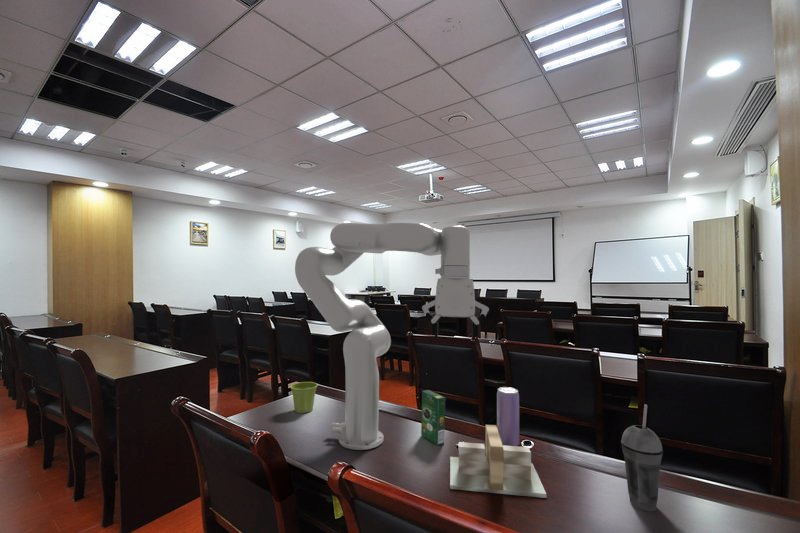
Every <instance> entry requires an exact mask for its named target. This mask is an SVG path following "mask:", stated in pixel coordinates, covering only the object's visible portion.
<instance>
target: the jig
mask: <svg viewBox="0 0 800 533" xmlns="http://www.w3.org/2000/svg"><path fill="white" fill-rule="evenodd" d="M449 460H450V462H449V464H450V465H449V469H450V470H449V489H450V490H459V491H460V490H461V491H471V492H477V493H478V492H481V493H490V494H502V495H511V496H512V495H513V496H521V497H533V498H543V499H544V498H545V499H547V497H548V496H547V492H546V490H545V488H544V485H543V484H542V482H541V479H540V476H539V474H538V472H537V470H536V469H535V466H534V464H533V463H532V452H531V450H530V447H529V446H519V445H518V446H506V445H503V491H502V490H491V488H490V483H489V464H488V459H487V457H485V443H478V442H476V443H475V442H466V441H458V456H450V457H449Z"/></svg>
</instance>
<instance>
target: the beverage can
mask: <svg viewBox="0 0 800 533" xmlns="http://www.w3.org/2000/svg"><path fill="white" fill-rule="evenodd" d="M496 426H497V429H498V432H499V436H500V439H501V442H502V445H506V446H519V445H520V394H519V390H518V389H516V388H514V387H509V386H508V387H507V386H502V387H499V388H497V392H496Z"/></svg>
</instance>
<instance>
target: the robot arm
mask: <svg viewBox="0 0 800 533" xmlns="http://www.w3.org/2000/svg"><path fill="white" fill-rule="evenodd" d="M329 236H330V237H329V238H330V241H331V244H332V245H333V246H334V247H333V248H325V247H321V246H320V247H319V246H310V247H305V248H303V249H302V250H301V251H299V253H298V255H297V257H296V259H295V265H294V273H295V278H296V280H297V283H298V285H299V287H300V288H301V289H302V291H303V292H304V293H305V294H306V295H307V297H308V298H309V299H310V300H311V302H312V303H313V304H314V306H315V307H316V309H317V310H318V312H319V313H320V314H321V316H322V317H323V318H324V320H325V322H326V323H327V324H328V325H329V327H330V328H331V329H332V330H334V331H336V332H338V333H344V332H348V331H350V332H349V334H347V335H346V337H345V339H344V341H343V344H342V345H343V347H342V351H343V359H344V366H345V395H344V396H345V397H344V399H345V401H344V422H343V421H342V422H341V423H338V422H330V423H331V424H330V430H331V432H332V433H334V434H336V433H339V434H340V435H339V437H338V443H339V444H340V445H341V446H342V447H343V448H345V449H348V450H353V451H354V450H355V451H363V450H364V451H365V450H371V449H374V448H377V447H379V446H380V445H382V444H383V443H384V438H385V436H384V434H383V432H381V431H380V430H379V418H380V417H379V413H380V412H379V408H380V407H379V406H380V405H379V404H380V372H379V367H378V361H377V358H378V357H381V356H383V355H384V354H386V353H387V352H388V351H389V349H390V347H391V344H392V339H391V335H390V332H389V331H388V329H387V328H386V326H385V325H384V323H383V322H382V321H381V320H380V318H378V316H377V315H376V314H375V313H374V310H372V309H371V307H370V306H369V305H368V304H367V303H366V302H364V301H363V300H359V299H357V298H356V299H355V298H351V299H349V298H347V297H346V296H345V295H344V293H342V291H341V290H340V289H339V287H338V286H337V285H336V284H335V283H334V282H333V281H332V280H330V279H329V278H328V277H327V276H331V277H333V276H338V275H340V274H341V273H343V272H344V271H346V270H347V268H349V267H350V266H351V265H352V264H353V263H355V262H356V261H358V259H359V258H360V257H361V256H362V255H363V254H367V253H368V254H383V253H385V252H408V253H409V252H410V253H418V254H422V255H424V256H427V257H428V256H430V257H432V256H437V255H440V267H439V268H435V273H434V274H435V275H439V276H440V278H437V282H436V289H435V298H434V300H431V301H429V302H428V303H426V304H424V305H422V307H421V309H422V311H423V313H424V315H425V317H426V318H427V319H428V320H429V321H430V322H431V324H432V328H431V329H432V330H431V331H432V332H431V335H432V336H434V340H437V339H439V323H438V320H439V319H440V318H441V317H443V318H445V317H447V318H470V320H471V321H472V324H471V339H472V341H476V337H477V338H478V337H479V325H480V323H481V322H482V321H483V320H484V319H485V318H486V316H487V314H488V313H489V311H490V308H489V307H488V306H487V305H485V304H482V303H481V302H478V300H476V297H475V296H476V295H475V285H474V281H473V280H474V279H473V278H470V264H471V263H470V262H471V261H470V259H471V258H470V248H471V245H470V241H471V239H470V238H471V236H470V230H469V228H468V227H466V226H462V225H450V226H449V225H448V226H445V227H443V228H442V229H436V228H433V227H432V226H431V225H428V224H426V223H425V224H424V223H421V222H420V223H419V222H418V223H417V222H389V223H361V222H360V223H358V222H356V223H355V222H344V223H343V222H342V223H339V224H337V225H335V226H334V227H333V228H332V229H331V232H330V235H329ZM432 307H434V310H435V315H434V316H433V315H432V313H431V312H430V311H429V309H430V308H432ZM476 307H477V308H478V309H480V310H481V313H480V314H479V315H478V316H475V314H476Z"/></svg>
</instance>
